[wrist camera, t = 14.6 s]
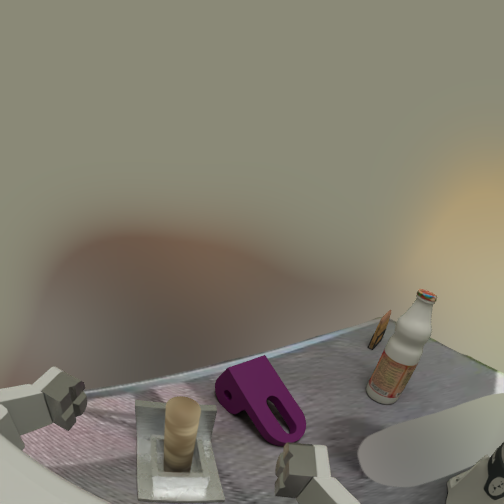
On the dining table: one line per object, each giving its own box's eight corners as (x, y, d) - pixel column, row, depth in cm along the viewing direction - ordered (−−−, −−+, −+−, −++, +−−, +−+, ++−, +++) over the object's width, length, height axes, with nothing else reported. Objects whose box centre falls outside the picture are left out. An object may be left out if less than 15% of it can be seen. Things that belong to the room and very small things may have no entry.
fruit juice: (367, 402, 57) (416, 295, 50) (363, 380, 66) (404, 282, 59) (400, 407, 55) (452, 304, 48) (393, 385, 64) (437, 291, 57)
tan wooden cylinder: (188, 458, 34) (198, 397, 31) (192, 479, 31) (203, 421, 27) (162, 457, 33) (165, 395, 29) (164, 478, 29) (166, 420, 26)
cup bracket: (208, 438, 41) (215, 405, 39) (224, 501, 28) (234, 475, 26) (137, 434, 37) (135, 400, 35) (138, 500, 25) (133, 474, 23)
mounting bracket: (288, 440, 50) (245, 373, 59) (314, 428, 45) (265, 354, 55) (255, 461, 43) (210, 385, 52) (280, 451, 39) (227, 367, 48)
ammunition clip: (377, 338, 92) (389, 307, 89) (381, 340, 91) (393, 309, 88) (367, 347, 84) (380, 315, 81) (372, 350, 83) (386, 317, 80)
